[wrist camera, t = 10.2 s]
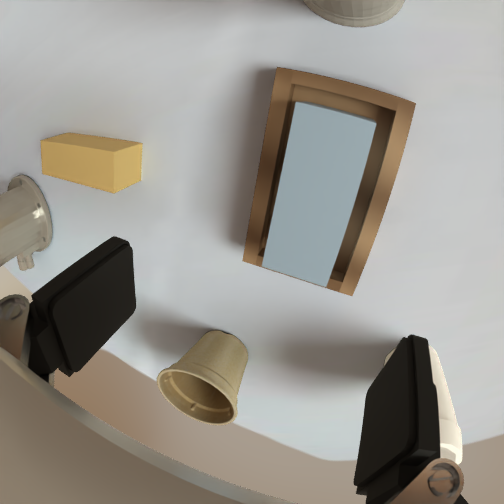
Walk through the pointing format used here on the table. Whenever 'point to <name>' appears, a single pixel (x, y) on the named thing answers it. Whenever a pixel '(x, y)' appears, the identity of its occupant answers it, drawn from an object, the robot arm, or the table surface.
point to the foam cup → (444, 413)
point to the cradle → (374, 176)
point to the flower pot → (207, 379)
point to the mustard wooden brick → (92, 160)
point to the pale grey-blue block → (317, 190)
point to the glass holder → (355, 11)
